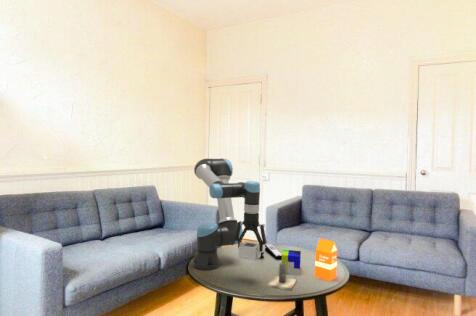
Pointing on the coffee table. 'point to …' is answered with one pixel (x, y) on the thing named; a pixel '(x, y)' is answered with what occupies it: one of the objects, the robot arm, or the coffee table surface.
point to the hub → (248, 251)
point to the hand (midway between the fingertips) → (249, 255)
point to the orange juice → (326, 260)
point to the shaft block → (282, 279)
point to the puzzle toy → (292, 261)
